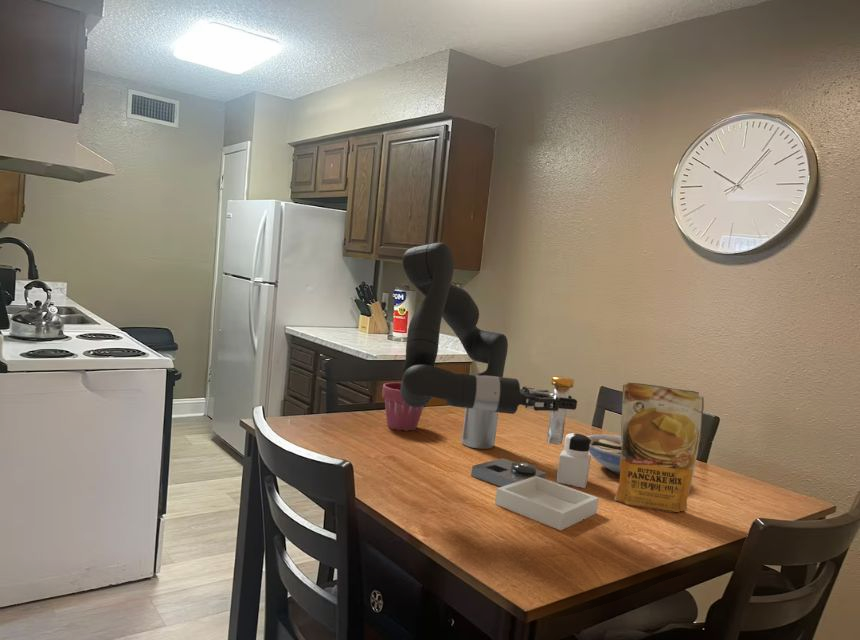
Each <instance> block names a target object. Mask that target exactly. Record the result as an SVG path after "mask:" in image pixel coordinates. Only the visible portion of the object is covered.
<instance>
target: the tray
mask: <svg viewBox="0 0 860 640" xmlns="http://www.w3.org/2000/svg"><path fill="white" fill-rule="evenodd" d="M599 499H600V497H598V496H596V495H593V494H591V493H586V492H584V491H581V490H578V489H575V488H573V487H569V486H567V485H565V484H562V483H557V482H556V481H552V480H549V479H546V478H545V479H544V478H541V477H538V476H534V477H531V478H528V479H524V480H521V481H518V482H515V483H512V484H509V485H506V486H503V487H497V488H496V493H495V499H494V500H495V502H494V505H495V506H499V507H501V508H504V509H506V510H509V511H511V512H514V513H515V514H518V515H521V516H523V517H526V518H528V519H531V520H533V521H535V522H537V523H541V524H543V525H545V526H548V527H550V528H553V529H556V530H558V531H563V530H564V529H566V528H568V527H572V526H573V525H575V524H577V523H579V522H582V521H583V519H584V520H585V519H588V518H590V517H592V516H594V515H596V514H597V513H598V508H599V507H598V506H599Z"/></svg>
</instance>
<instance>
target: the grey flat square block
mask: <svg viewBox="0 0 860 640" xmlns="http://www.w3.org/2000/svg"><path fill="white" fill-rule="evenodd" d="M546 474H547V472H545V471H542V470H539V469H537V467H536V465H534V464H531V463H528V462H523V461H512V460H510V459H508V458H507V459H506V458H503V457H501V458H498V459H494V460H490V461H486V462H482V463H477V464H475V465H472V467H471V474H470V477H473V478H475V479H479V480H481V481H483V482H486V483H489V484H491V485H494V486H497V487H498V488H500V487H503V486H506V485H509V484H512V483H515V482H518V481H521V480H524V479H528V478H531V477H534V476H538V477H541V478H544V479H546V476H547V475H546Z"/></svg>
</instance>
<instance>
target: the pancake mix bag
mask: <svg viewBox="0 0 860 640" xmlns="http://www.w3.org/2000/svg"><path fill="white" fill-rule="evenodd" d="M704 402H705V401H704V396H700V392H699V391H694V390H687V389H677V388H671V387H667V386H662V385H661V386H660V385H656V384H655V385H654V384H646V383H639V382H636V383H635V382H627V383H625V384H623V385H622V396H621V421H620V426H621V427H620V436H621V445H622V450H621V459H620V474H619V481H618V482H619V483H618V486H617V487H618V488H617V491H616V493H615V496H614V499H613V500H614V501H615V502H620V503H622V504H623V505H626V504H627V506H630V505H632V507H635V506H637V507H636V508H641V507H643V508H642V509H646V508H651V509H650V510H653V509H657V510H656V511H660V510H663V511H662V512H665V511H670V512H669V513H671V512H678V513H677V514H680V513H681V512H680V511H687V512H688V502H687V501H688V498H689V493H690V489H691V486H692V481H693V476H694V471H695V466H696V461H697V458H698V453H699V447H700V446H699V445H700V444H701V443H700V442H701V437H702V425H703V415H704V408H705V407H704V405H705V403H704ZM679 512H680V513H679Z"/></svg>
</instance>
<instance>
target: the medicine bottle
mask: <svg viewBox="0 0 860 640" xmlns="http://www.w3.org/2000/svg"><path fill="white" fill-rule="evenodd" d="M589 446H590V439H589V438H588V437H587V435H585V434H580V433H573V432H571V433H568V434H566V435H565V439H564V446H563V449H562V450H561V452H560V454H559V458H558V465H557V466H558V467H557V473H556V474H557V475H556V481H555V483H558V484H561V485H566V484H567V485H568V486H571V485H572V487H576V488H580V487H581V489H586V487H587V484H588V480H589V473H590V467H591V458H592V455H591V453H590V451H589ZM567 485H566V486H567Z"/></svg>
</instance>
